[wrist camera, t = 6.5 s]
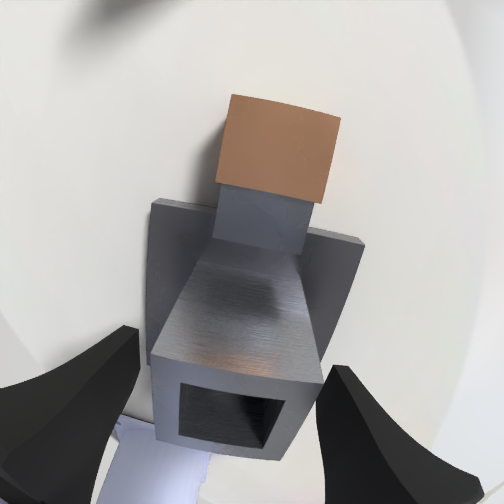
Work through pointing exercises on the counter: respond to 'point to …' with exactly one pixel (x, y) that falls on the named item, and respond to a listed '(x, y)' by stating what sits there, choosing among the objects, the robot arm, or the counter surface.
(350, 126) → the counter surface
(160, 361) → the hollow square tube
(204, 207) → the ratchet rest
